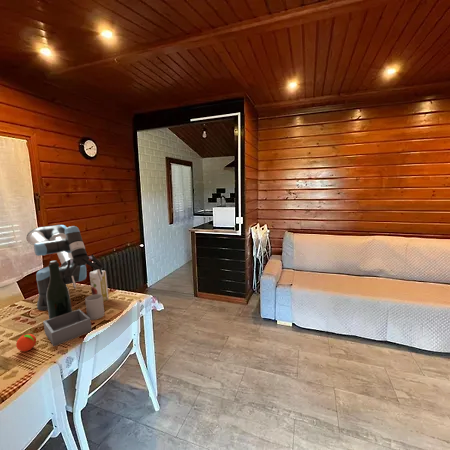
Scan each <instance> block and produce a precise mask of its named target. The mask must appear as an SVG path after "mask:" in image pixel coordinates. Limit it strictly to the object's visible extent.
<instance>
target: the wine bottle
mask: <svg viewBox="0 0 450 450" xmlns="http://www.w3.org/2000/svg"><path fill="white" fill-rule="evenodd" d="M48 267H49V270H50V282H49V285H48V289H47V294H46V296H47V306H48V310H47V314H48V319H51V318H54V317H57V316H60V315H63V314H66V313H69V312H72V311H73V309H72V303H71V295H70V290H69V287H68V286H67V285H66V284H65V283H64V281H63V280H62V278H61V275H60V270H59V267H60V263H59V262H58V260H51V261H49V263H48Z"/></svg>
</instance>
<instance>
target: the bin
mask: <svg viewBox="0 0 450 450" xmlns="http://www.w3.org/2000/svg"><path fill="white" fill-rule="evenodd" d="M42 322H43V329H44V330H43V331H44V335H45V336H46V337H47V339H48V341H50V343H51V345H52V347H56V346H58V345H61V344H64V343H67V342H68V341H70V340H74V339H75V338H78V337H80V336H83V335H85V334H88V333H90V331H91V332H93V329H92V320H91V319H90V318H89V317H88V316H87V313H85V312H84V311H83V310H82V309H80V308H78V309H75V310H72V312H69V313H66V314H63V315H60V316H57V317H54V318H51V319H49V318H48V319H45V320H43V321H42Z"/></svg>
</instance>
